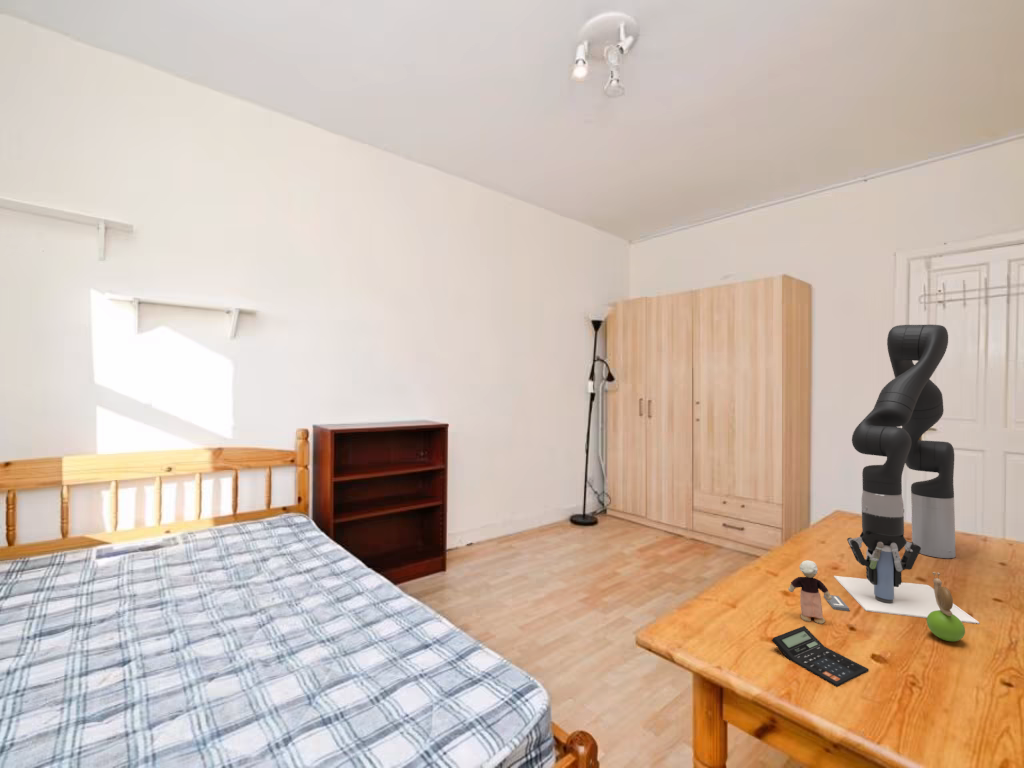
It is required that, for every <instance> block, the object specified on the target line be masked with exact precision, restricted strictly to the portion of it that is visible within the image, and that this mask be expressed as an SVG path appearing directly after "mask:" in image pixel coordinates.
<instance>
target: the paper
mask: <svg viewBox="0 0 1024 768" xmlns="http://www.w3.org/2000/svg"><path fill="white" fill-rule="evenodd" d="M833 578H834V579H835V580H836V581H837V582H838V583H839V584H840V585H841V586H842V587H843V588H844V589H845V591H846V592H848V594H849V595H850V596H851V597H852V598H853V599H854V600H855V601H856V602H857V603H858V604H859V605H860V606H861V608H862V609H863V610H865V612H873V613H879V614H880V613H881V614H888V615H889V614H890V615H899V616H907V617H916V618H922V619H923V618H924V619H927V616H928V615H929V614H930V613H931V612H933V611H937V610H940V608H939V606H938V605H937V602H936V598H935V593H934V587H932V586H930V585H929V584H922V583H914V582H902V583H901V585H899V587H894V599H893V603H891V604H889V603H883V602H880V601H878V600H876V599H875V595H874V585H873V584H872V583H871V582H870V581H869V580H868V579H867V578H859V577H850V576H838V575H833ZM950 611H951V612H952V614H953V615H955V616H956V617H957V618H959V619H960V621H961V622H962V623H966V624H967V623H968V624H976V623H977V624H976V625H980V622H979V620H977V619H975V618H974V617H972V615H970V614H968V613H967V612H966V611H965V610H963V609H961V608H960V607H959V606H957V605H956V604H955V603H953V606H952V608H951V609H950Z"/></svg>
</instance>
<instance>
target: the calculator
mask: <svg viewBox="0 0 1024 768" xmlns="http://www.w3.org/2000/svg"><path fill="white" fill-rule="evenodd" d="M771 642H772V643H773V644H774V645H775V646H776V647H777V648H778V649H779V650H780V651H781V652H782V654H783V655H784V656H785V657H786V658H787V659H788V660H789V661H790V662H791V663H794V664H796V665H798V666H800V667H801V668H803V669H805V670H807V671H808V672H810V673H812V674H813V675H815V676H816V677H818V678H820V679H822V680H823V681H825V682H827V683H830V684H831V685H833V686H834V687H836V688H838V687H840V686H842V685H843V684H846V683H848V682H849V681H851V680H854V679H855V678H858V677H860V676H862V675H864V674H866V673H868V672H869V670H870V669H869V668H867V667H866V666H864V665H862V664H859V663H858V662H856V661H854V660H852V659H850V658H848V657H846V656H844V655H842V654H840V653H839V652H838V653H837V651H834V650H832V649H830V648H828V647H826V646H825V645H824V644H823V643H822V642H821V641H820V640H819V639H818V638H817V637H816V636H815V635H814V634H813V633H812V631H810V630H809V629H808V628H807V627H806V626H805V625H804V626H800V627H797V628H795V629H792V630H790V631H787V632H785V633H782V634H780V635H777V636H774V637H773V638H772V639H771Z"/></svg>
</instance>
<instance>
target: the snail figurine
mask: <svg viewBox="0 0 1024 768" xmlns="http://www.w3.org/2000/svg"><path fill="white" fill-rule="evenodd" d="M932 575H933V580H932V581H933V589H934V593H935V598H936V602H937V605H938V606H939V608H940V610H937V611H933V612H931V613H930V614H929V615H928V616H927V618H926V625H927V627H928V629H929V630H930V632H931V633H932V634H933V635H934V636H935V637H938V638H939V639H940V640H943V641H946V642H958V641H961V640H962V639H963V638H964V636H965V634H966V629H965V626H964V624H963V623H964V622H961V621H960V619H959V618H957V617H956V616H955V615H953V614H952V612H951V611H950V609H951V608H952V606H953V604H954V599H953V595H952V592H951V590H949V589H948V587H946V586H942V585H943V583H942V580H941V579H940V575H941V573H940V572H936V571H932ZM936 575H937V577H936V578H935V576H936Z"/></svg>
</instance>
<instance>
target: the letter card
mask: <svg viewBox="0 0 1024 768" xmlns="http://www.w3.org/2000/svg"><path fill="white" fill-rule="evenodd" d="M830 596H831V597H832V599H831V600H827V599H826V596H825V595H824V594H823V598H824V599H825V600H826V601H827V603H828V604H829V605H830V606H831V608H832V609H833V610H837V611H847V612H850V607H849V606H848V605H847V604H846V602H845V601H844V600H843V599H842V598H841V597H840V596H839V595H832V594H830Z"/></svg>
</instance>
